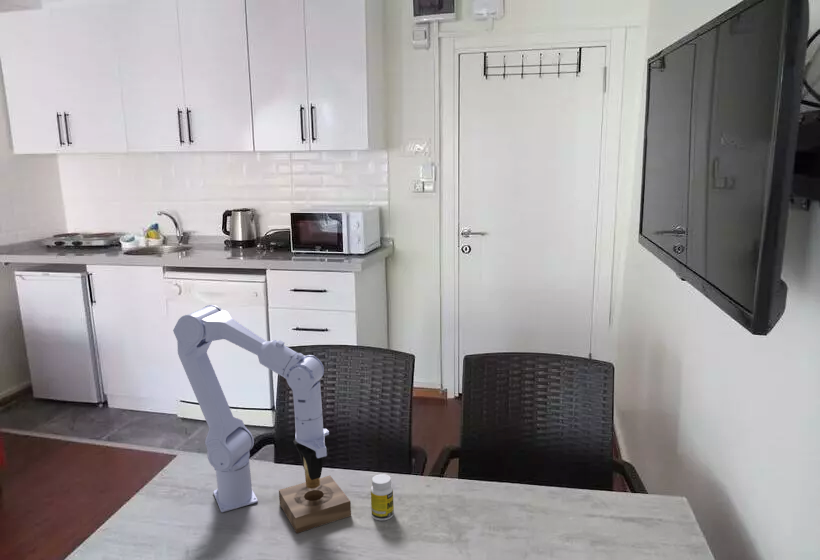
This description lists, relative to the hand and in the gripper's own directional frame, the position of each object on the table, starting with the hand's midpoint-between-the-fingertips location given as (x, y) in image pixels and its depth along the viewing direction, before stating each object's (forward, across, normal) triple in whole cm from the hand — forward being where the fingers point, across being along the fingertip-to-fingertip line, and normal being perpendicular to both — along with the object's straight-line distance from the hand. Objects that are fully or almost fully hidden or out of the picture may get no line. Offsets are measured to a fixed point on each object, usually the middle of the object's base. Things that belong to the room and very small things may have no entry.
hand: (312, 474), depth 128 cm
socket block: (+8, 0, 0) cm, 8 cm away
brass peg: (+2, 0, 0) cm, 2 cm away
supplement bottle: (+9, -9, -12) cm, 17 cm away
